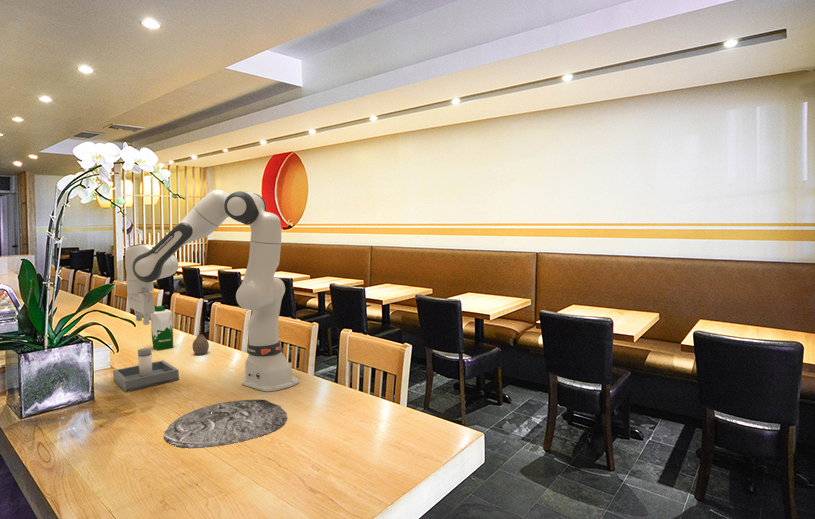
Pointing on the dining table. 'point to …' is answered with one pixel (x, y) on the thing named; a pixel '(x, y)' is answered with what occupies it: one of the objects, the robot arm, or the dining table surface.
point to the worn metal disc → (225, 424)
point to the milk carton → (162, 328)
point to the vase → (200, 345)
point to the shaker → (145, 362)
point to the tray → (132, 381)
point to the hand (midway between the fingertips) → (142, 322)
